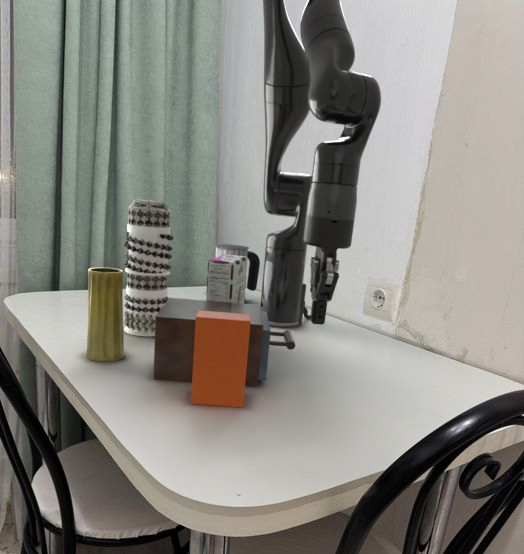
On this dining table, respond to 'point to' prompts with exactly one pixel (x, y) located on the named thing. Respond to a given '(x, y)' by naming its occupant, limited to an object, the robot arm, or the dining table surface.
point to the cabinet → (181, 334)
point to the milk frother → (253, 258)
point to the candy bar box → (227, 279)
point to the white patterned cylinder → (146, 265)
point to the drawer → (266, 342)
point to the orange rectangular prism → (220, 358)
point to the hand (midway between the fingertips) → (317, 323)
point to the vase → (105, 315)
